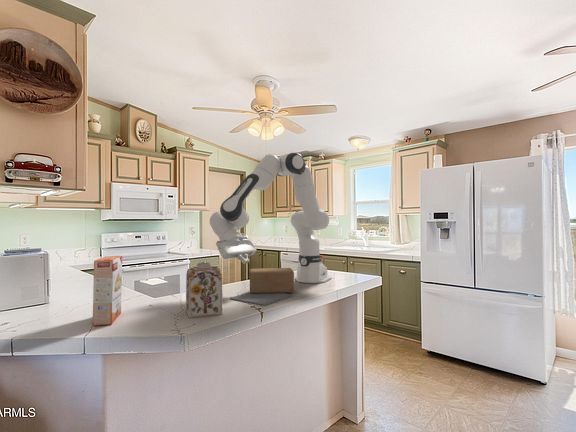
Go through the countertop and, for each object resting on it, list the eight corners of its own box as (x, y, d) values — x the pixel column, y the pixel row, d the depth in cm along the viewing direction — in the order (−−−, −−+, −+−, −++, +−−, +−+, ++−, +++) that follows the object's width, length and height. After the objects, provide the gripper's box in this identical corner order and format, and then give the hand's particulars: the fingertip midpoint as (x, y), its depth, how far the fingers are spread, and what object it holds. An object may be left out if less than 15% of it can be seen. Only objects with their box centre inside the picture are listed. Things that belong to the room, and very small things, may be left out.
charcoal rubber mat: (260, 290, 151) (260, 289, 151) (293, 295, 140) (293, 294, 140) (229, 299, 134) (229, 297, 134) (264, 306, 123) (264, 304, 123)
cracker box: (113, 325, 101) (113, 259, 101) (91, 326, 99) (92, 260, 100) (122, 312, 115) (123, 255, 115) (103, 314, 113) (104, 255, 113)
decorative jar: (185, 309, 119) (186, 261, 119) (217, 306, 123) (217, 260, 123) (188, 318, 108) (188, 265, 108) (222, 315, 112) (222, 264, 112)
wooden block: (249, 294, 140) (294, 293, 143) (249, 271, 140) (294, 270, 143) (249, 289, 150) (291, 288, 153) (249, 268, 150) (291, 267, 153)
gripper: (217, 236, 138) (234, 260, 132) (249, 234, 155) (264, 255, 149) (210, 246, 141) (226, 270, 135) (242, 243, 157) (257, 264, 152)
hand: (246, 262), depth 142 cm, fingers closed
